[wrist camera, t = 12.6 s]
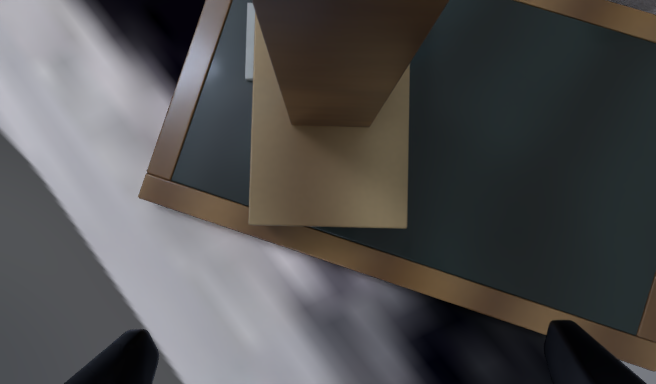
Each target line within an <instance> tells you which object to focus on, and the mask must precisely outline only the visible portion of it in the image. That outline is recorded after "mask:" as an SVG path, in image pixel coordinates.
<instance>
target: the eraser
mask: <svg viewBox="0 0 656 384" xmlns="http://www.w3.org/2000/svg"><path fill="white" fill-rule="evenodd" d="M448 2H449V0H252V3H253V6H254V9H255V30H254V61H253V93H252V124H251V156H250V187H249V219H248V223H249V225H266V226H309V227H353V228H397V229H406V228H407V215H408V151H409V87H410V62H411V61H412V59H413V57H414V56H415V54H416V53H417V51H418V50H419V48H420V46H421V45H422V43H423V42H424V40H425V38H426V37H427V35H428V34H429V32H430V30H431V29H432V27H433V26H434V24H435V23H436V21H437V19H438V18H439V16H440V15H441V13H442V11H443V10H444V8H445V7H446V5H447V3H448Z"/></svg>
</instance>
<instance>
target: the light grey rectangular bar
mask: <svg viewBox="0 0 656 384" xmlns="http://www.w3.org/2000/svg"><path fill="white" fill-rule="evenodd" d="M254 30H255V9H254V6H253V3H247V32H246V64H245V79H246V80H247V81H253V61H254Z"/></svg>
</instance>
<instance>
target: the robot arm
mask: <svg viewBox="0 0 656 384" xmlns="http://www.w3.org/2000/svg"><path fill="white" fill-rule="evenodd" d="M544 354H545V358H546V362H547V365H548V369H549V372H550V376H551V380H552V383H553V384H646V383H645V382H644V381H643V380H642V379H641V378H640V377H638V376H637V375H636V374H635V373H633V371H631V370H630V369H629V368H628V367H627V366H625V365H624V364H623V363H622V362H621V361H620V360H619V359H617V358H616V357H615V356H614V355H613V354H612V353H610V352H609V351H608V350H607V349H606V348H605V347H603V346H602V345H601V344H600V343H599V342H598V341H596V340H595V339H594V338H593V337H592V336H591V335H589V334H588V333H587V332H586V331H585V330H584V329H582V328H581V327H580V326H579V325H578V324H577V323H575V322H574V321H572V320H552V321H551V322H550V323H549V326H548V330H547V335H546V339H545V343H544ZM158 360H159V352H158V349H157V347H156V345H155V343H154V342H153V340H152V338H151V336H150V334H149V332H148V331H147V330H145V329H132V330H128V331H126V332H125V333H124V334H122V335H121V336H120V337H119V338H118V339H116V340H115V341H114V342H113V343H112V344H111V345H110V346H108V347H107V348H106V349H105V350H103V351H102V352H101V353H100V354H99V355H97V356H96V357H95V358H94V359H93V360H92V361H90V362H89V363H88V364H87V365H86V366H84V367H83V368H82V369H81V370H80V371H79V372H77V373H76V374H75V375H74V376H72V377H71V378H70V379H69V380H68V381H67V382H65V383H64V384H152V383H153V379H154V376H155V372H156V368H157V365H158Z"/></svg>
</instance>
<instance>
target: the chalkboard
mask: <svg viewBox="0 0 656 384" xmlns="http://www.w3.org/2000/svg"><path fill="white" fill-rule="evenodd" d="M247 3H252V0H206V1H205V4H204V7H203V10H202V13H201V15H200V18H199V21H198V24H197V27H196V30H195V33H194V36H193V39H192V42H191V45H190V47H189V50H188V53H187V56H186V59H185V62H184V65H183V68H182V71H181V74H180V76H179V79H178V82H177V85H176V88H175V91H174V94H173V97H172V100H171V103H170V106H169V108H168V111H167V114H166V117H165V120H164V123H163V126H162V129H161V132H160V135H159V137H158V140H157V143H156V146H155V149H154V152H153V155H152V158H151V161H150V164H149V167H148V169H147V174H146V175H145V178H144V181H143V184H142V187H141V190H140V193H139V195H138V197H139V198H140V199H143V200H146V201H149V202H152V203H155V204H158V205H161V206H164V207H167V208H170V209H173V210H176V211H179V212H182V213H185V214H188V215H191V216H194V217H197V218H200V219H203V220H206V221H209V222H212V223H215V224H218V225H221V226H224V227H227V228H229V229H232V230H235V231H238V232H241V233H244V234H247V235H250V236H253V237H256V238H259V239H262V240H265V241H268V242H271V243H274V244H277V245H280V246H283V247H286V248H289V249H292V250H295V251H298V252H301V253H304V254H307V255H310V256H313V257H316V258H318V259H321V260H324V261H327V262H330V263H333V264H336V265H339V266H342V267H345V268H348V269H351V270H354V271H357V272H360V273H363V274H366V275H369V276H372V277H375V278H378V279H381V280H384V281H387V282H390V283H393V284H396V285H399V286H402V287H404V288H407V289H410V290H413V291H416V292H419V293H422V294H425V295H428V296H431V297H434V298H437V299H440V300H443V301H446V302H449V303H452V304H455V305H458V306H461V307H464V308H467V309H470V310H473V311H476V312H479V313H482V314H485V315H488V316H491V317H493V318H496V319H499V320H502V321H505V322H508V323H511V324H514V325H517V326H520V327H523V328H526V329H529V330H532V331H535V332H538V333H541V334H544V335H547V330H548V326H549V323H550V322H551V321H552V320H572V321H574V322H575V323H577V324H578V325H579V326H580V327H581V328H582V329H584V330H585V331H586V332H587V333H588V334H589V335H591V336H592V337H593V338H594V339H595V340H596V341H598V342H599V343H600V344H601V345H602V346H603V347H605V348H606V349H607V350H608V351H609V352H610V353H612V354H613V355H614V356H615V357H616V358H617V359H619V360H621V361H624V362H627V363H630V364H633V365H636V366H639V367H642V368H645V369H648V370H651V371H656V15H654V14H651V13H647V12H644V11H640V10H637V9H634V8H630V7H627V6H624V5H620V4H617V3H613V2H610V1H607V0H449V2H448V3H447V5H446V7H445V8H444V10H443V11H442V13H441V15H440V16H439V18H438V19H437V21H436V23H435V24H434V26H433V27H432V29H431V30H430V32H429V34H428V35H427V37H426V38H425V40H424V42H423V43H422V45H421V46H420V48H419V50H418V51H417V53H416V54H415V56H414V57H413V59H412V61H411V62H410V87H409V151H408V215H407V228H406V229H397V228H353V227H309V226H266V225H249V223H248V219H249V187H250V156H251V124H252V93H253V81H247V80H246V79H245V64H246V32H247Z"/></svg>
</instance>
